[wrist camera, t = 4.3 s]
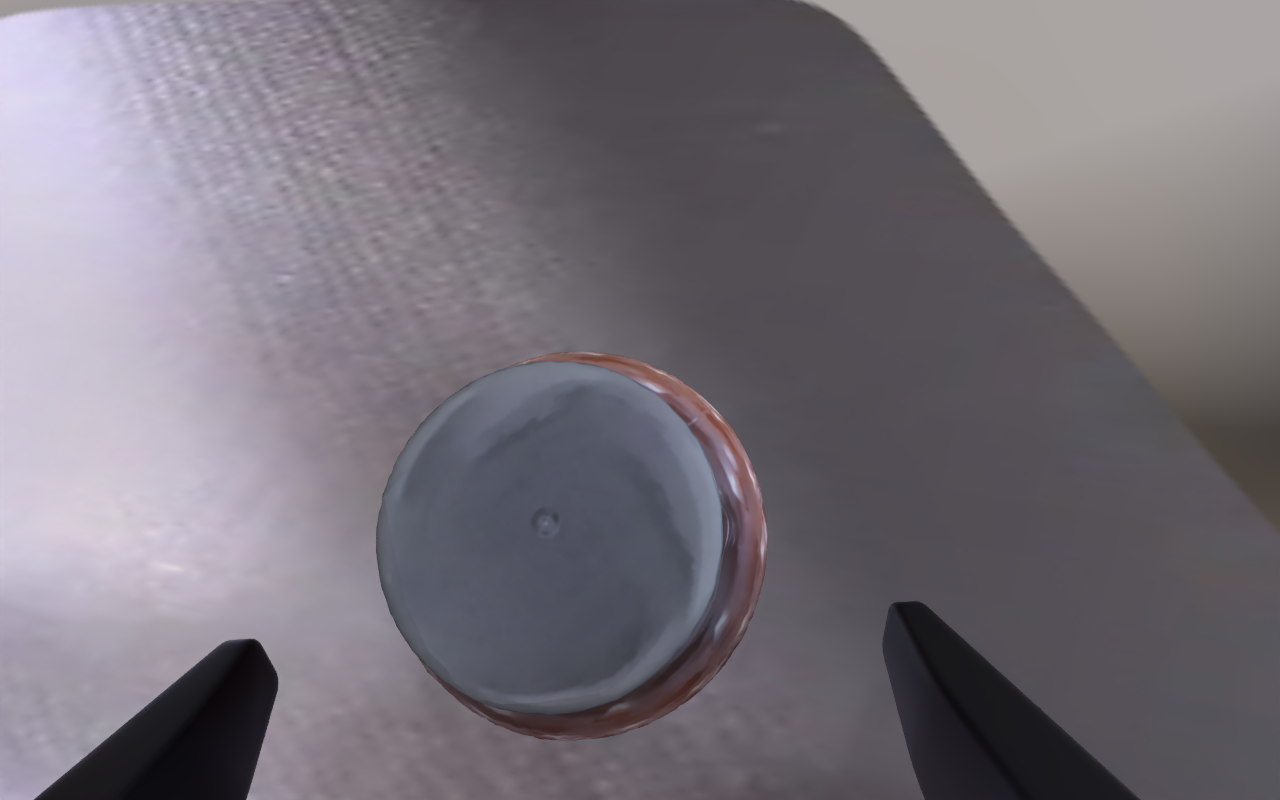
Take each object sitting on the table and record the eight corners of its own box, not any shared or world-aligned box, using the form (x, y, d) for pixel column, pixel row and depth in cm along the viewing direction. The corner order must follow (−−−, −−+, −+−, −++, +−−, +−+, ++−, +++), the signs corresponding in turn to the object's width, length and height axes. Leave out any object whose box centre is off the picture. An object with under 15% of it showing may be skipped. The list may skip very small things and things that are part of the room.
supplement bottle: (461, 560, 18) (165, 565, 7) (596, 395, 19) (513, 182, 8) (630, 706, 17) (578, 960, 6) (764, 524, 18) (917, 474, 7)
